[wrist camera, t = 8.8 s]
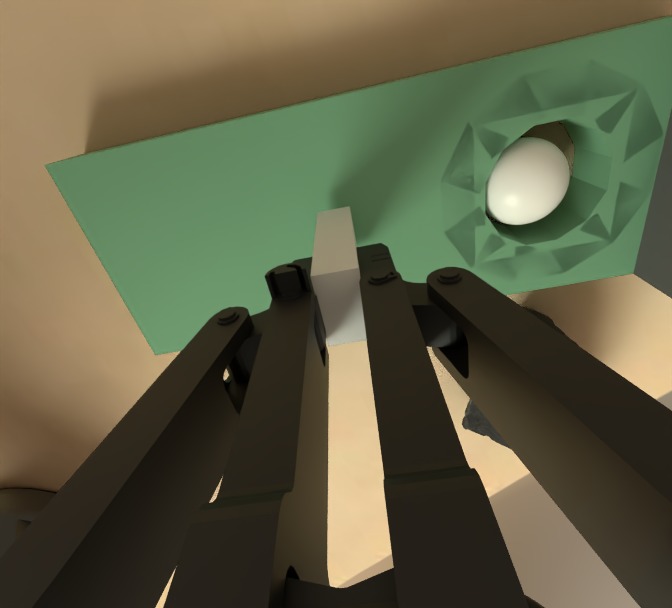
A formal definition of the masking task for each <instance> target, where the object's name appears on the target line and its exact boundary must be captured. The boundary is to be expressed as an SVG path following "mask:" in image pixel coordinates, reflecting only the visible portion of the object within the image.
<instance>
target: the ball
mask: <svg viewBox="0 0 672 608" xmlns="http://www.w3.org/2000/svg"><path fill="white" fill-rule="evenodd" d="M569 179H570V170H569V165H568V162H567V159H566V157H565V155H564V154H563V152H562V151H561V150H560V149H559V148H558V147H557V146H555V145H554V144H553V143H551V142H549V141H547V140H544V139H541V138H535V137H524V138H519V139H517V140H515V141H514V142H513V143H512V144H510V145H509V146H508V147H506V148H505V149H504V150H503V151H502V153H501V155H500V157H499V158H498V160H497V162H496V164H495V166H494V168H493V170H492V172H491V174H490V176H489V177H488V179H487V181H486V183H485V212H486V213H487V214H488V215H490V216H491V217H492V218H494V219H495V220H497V221H500V222H502V223H506V224H511V225H522V224H528V223H532V222H535V221H537V220H539V219H541V218H543V217H545V216H546V215H548V214H549V213H551V212H552V211H553V210H554V209H555V208H556V207H557V206H558V205H559V203H560V202H561V201H562V199H563V197H564V196H565V194H566V191H567V188H568V185H569Z"/></svg>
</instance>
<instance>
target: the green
mask: <svg viewBox="0 0 672 608" xmlns="http://www.w3.org/2000/svg"><path fill="white" fill-rule="evenodd" d="M554 121H559V122H561V123H563V124H564V126H565V128H566V130H567V132H568V134H569V136H570V138H571V140H572V142H573V144H574V146H575V153H574V161H573V170H572V177H571V178H570V180H569V185H568V188H567V191H566V194H565V196H564V197H563V199H562V201H561V202H560V203H559V205H558V206H557V207H556V208H555V209H554V210H553V211H552V212H551V213H549V214H548V215H546V216H545V217H543V218H541V219H539V220H537V221H535V222H532V223H528V224H522V225H511V224H506V225H502V224H499V223H496V222H493V221H490V220H489V219H488V217H487V216H486V214H485V183H486V181H487V179H488V177H489V176H490V174H491V172H492V170H493V168H494V166H495V164H496V162H497V160H498V158H499V157H500V155H501V153H502V151H503V150H504V149H505V148H506V147H508V146H509V145H510V144H512V143H513V142H514V141H515V140H517V139H518V138H519V137H520V136H522V135H523V134H524V133H525V132H527V131H528V130H529V129H531V128H532V127H533V126H535V125H540V124H544V123H549V122H554ZM45 167H46V168H47V170H48V172H49V174H50V175H51V177H52V179H53V180H54V182H55V184H56V186H57V187H58V189H59V191H60V192H61V194H62V196H63V198H64V199H65V201H66V203H67V205H68V206H69V208H70V210H71V211H72V213H73V215H74V217H75V218H76V220H77V222H78V223H79V225H80V227H81V229H82V230H83V232H84V234H85V235H86V237H87V239H88V241H89V242H90V244H91V246H92V247H93V249H94V251H95V253H96V254H97V256H98V258H99V259H100V261H101V263H102V265H103V266H104V268H105V270H106V271H107V273H108V275H109V277H110V278H111V280H112V282H113V283H114V285H115V287H116V289H117V290H118V292H119V294H120V295H121V297H122V299H123V301H124V302H125V304H126V306H127V307H128V309H129V311H130V313H131V314H132V316H133V318H134V320H135V321H136V323H137V325H138V326H139V328H140V330H141V332H142V333H143V335H144V337H145V338H146V340H147V342H148V344H149V345H150V347H151V349H152V350H153V352H154V354H155V355H158V354H164V353H170V352H176V351H182V350H183V349H184V348H185V346H186V345H187V344H188V343H189V342H190V341H191V340H192V338H193V337H194V336H195V335H196V334H197V333H198V332H199V330H200V329H201V328H202V327H203V326H204V325H205V324H206V322H207V321H208V320H209V319H210V318H211V317H212V316H213V315H215V314H216V313H218V312H220V311H221V310H223V309H225V308H226V309H227V308H228V307H237V306H239V307H245V308H247V309H248V311H249V314H250V316H252V315H254V314H257V313H260V312H263V311H265V310H267V309H269V307H270V304H271V300H272V297H271V294H270V291H269V288H268V285H267V282H266V279H265V275H266V273H267V272H268V271H270V270H271V269H273V268H275V267H277V266H279V265H283V264H287V263H292V262H293V261H294V260H297V259H303V258H308V257H313V248H314V239H315V231H316V222H317V213H318V212H323V211H328V210H333V209H338V208H343V207H348V206H350V211H351V216H352V222H353V227H354V233H355V239H356V244H357V247H361V246H366V245H372V244H377V243H382V244H384V245H386V246H388V248H389V251H390V254H391V257H392V260H393V263H394V266H395V269H396V271H397V272H399V273H400V275H401V277H402V279H403V280H405V281H407V282H412V283H427V282H426V279H427V276H428V275H429V274H430V273H431V272H433V271H435V270H437V269H441V268H444V267H459V268H464V269H466V270H469V271H471V272H472V273H474V274H475V275H476V276H478V277H479V278H481V279H482V280H484V281H485V282H487V283H488V284H489V285H491V286H492V287H494V288H495V289H497V290H498V291H500V292H501V293H502V294H504V295H510V294H516V293H522V292H528V291H534V290H539V289H545V288H551V287H557V286H563V285H569V284H575V283H580V282H586V281H592V280H598V279H604V278H610V277H616V276H622V275H627V274H635V275H636V276H638V277H640V278H641V279H643V280H644V281H646V282H647V283H649V284H650V285H652V286H653V287H655V288H656V289H658V290H660V291H661V292H663V293H664V294H666V295H667V296H669V297H670V298H672V15H669V16H665V17H660V18H656V19H652V20H648V21H643V22H639V23H635V24H631V25H627V26H622V27H618V28H614V29H610V30H605V31H601V32H597V33H593V34H588V35H584V36H580V37H576V38H572V39H567V40H563V41H559V42H555V43H550V44H546V45H542V46H538V47H533V48H529V49H525V50H521V51H517V52H512V53H508V54H504V55H500V56H495V57H491V58H487V59H483V60H479V61H474V62H470V63H466V64H462V65H457V66H453V67H449V68H445V69H440V70H436V71H432V72H428V73H424V74H419V75H415V76H411V77H407V78H402V79H398V80H394V81H390V82H385V83H381V84H377V85H373V86H369V87H364V88H360V89H356V90H352V91H347V92H343V93H339V94H335V95H330V96H326V97H322V98H318V99H314V100H309V101H305V102H301V103H297V104H292V105H288V106H284V107H280V108H276V109H271V110H267V111H263V112H259V113H254V114H250V115H246V116H242V117H237V118H233V119H229V120H225V121H221V122H216V123H212V124H208V125H204V126H199V127H195V128H191V129H187V130H182V131H178V132H174V133H170V134H166V135H161V136H157V137H153V138H149V139H144V140H140V141H136V142H132V143H127V144H123V145H119V146H115V147H111V148H106V149H102V150H98V151H94V152H89V153H85V154H81V155H78V156H75V157H71V158H68V159H64V160H61V161H57V162H54V163H50V164H47V165H45Z"/></svg>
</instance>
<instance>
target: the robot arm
mask: <svg viewBox="0 0 672 608" xmlns="http://www.w3.org/2000/svg"><path fill="white" fill-rule="evenodd" d="M265 279H266V282H267V285H268V288H269V291H270V294H271V297H272V300H271V304H270V307H269V309H267V310H265V311H263V312H260V313H257V314H254V315H252V316H250V314H249V311H248V309H247V308H245V307H239V306H237V307H228V308H227V309H226V308H225V309H223V310H221V311H220V312H218V313H216V314H215V315H213V316H212V317H211V318H210V319H209V320H208V321H207V322H206V324H205V325H204V326H203V327H202V328H201V329H200V330H199V332H198V333H197V334H196V335H195V336H194V337H193V338H192V340H191V341H190V342H189V343H188V344H187V345H186V346H185V348H184V349H183V350H182V351H181V352H180V353H179V354H178V356H177V357H176V358H175V359H174V360H173V361H172V362H171V364H170V365H169V366H168V367H167V368H166V369H165V370H164V372H163V373H162V374H161V375H160V376H159V377H158V378H157V380H156V381H155V382H154V383H153V384H152V385H151V386H150V388H149V389H148V390H147V391H146V392H145V393H144V394H143V396H142V397H141V398H140V399H139V400H138V401H137V402H136V404H135V405H134V406H133V407H132V408H131V409H130V410H129V412H128V413H127V414H126V415H125V416H124V417H123V418H122V420H121V421H120V422H119V423H118V424H117V425H116V426H115V428H114V429H113V430H112V431H111V432H110V433H109V434H108V436H107V437H106V438H105V439H104V440H103V441H102V442H101V444H100V445H99V446H98V447H97V448H96V449H95V450H94V452H93V453H92V454H91V455H90V456H89V457H88V458H87V460H86V461H85V462H84V463H83V464H82V465H81V466H80V468H79V469H78V470H77V471H76V472H75V473H74V474H73V476H72V477H71V478H70V479H69V480H68V481H67V482H66V484H65V485H64V486H63V487H62V488H61V489H60V490H59V491H58V493H57V494H55V493H51V492H46V491H40V490H32V489H0V608H155V607H156V605H157V603H158V601H159V599H160V597H161V595H162V593H163V591H164V589H165V587H166V585H167V583H168V581H169V579H170V578H171V576H172V574H173V572H174V570H175V568H176V570H175V573H174V576H173V579H172V582H171V586H170V589H169V592H168V595H167V598H166V601H165V604H164V607H163V608H544V607H543V606H542V605H540V604H539V603H537V602H536V601H534V600H532V599H531V598H529V597H528V596H526V595H524V593H523V590H522V587H521V584H520V582H519V579H518V576H517V574H516V571H515V568H514V566H513V563H512V560H511V558H510V555H509V553H508V550H507V547H506V544H505V542H504V539H503V536H502V534H501V531H500V528H499V526H498V523H497V520H496V517H495V515H494V512H493V510H492V507H491V504H490V501H489V499H488V496H487V493H486V491H485V488H484V486H483V483H482V481H481V479H480V476H479V474H478V473H477V471H476V470H475V468H472V469H470V467H469V465H468V463H467V461H466V458H465V455H464V452H463V450H462V447H461V444H460V441H459V438H458V435H457V433H456V430H455V427H454V424H453V421H452V418H451V416H450V413H449V410H448V407H447V404H446V401H445V399H444V396H443V393H442V390H441V387H440V384H439V382H438V379H437V376H436V373H435V370H434V367H433V365H432V362H431V359H430V356H429V353H428V350H427V348H426V346H429V347H432V350H433V352H434V355H435V356H436V357H437V358H438V359H439V361H440V362H441V363H442V364H443V366H444V367H445V368H446V369H447V370H448V372H449V373H450V374H451V375H452V377H453V378H454V379H455V380H456V382H457V383H458V384H459V385H460V386H461V388H462V389H463V390H464V391H465V393H466V394H467V395H468V396H469V397H470V399H471V400H472V401H473V402H474V404H475V405H476V406H477V407H478V409H479V410H480V411H481V412H482V413H483V415H484V416H485V417H486V418H487V420H488V421H489V422H490V423H491V425H492V426H493V427H494V428H495V429H496V431H497V432H498V433H499V434H500V436H501V437H502V438H503V439H504V440H505V442H506V443H507V444H508V445H509V447H510V448H511V449H512V450H513V452H514V453H515V454H516V455H517V456H518V458H519V459H520V460H521V461H522V463H523V464H524V465H525V466H526V467H527V469H528V470H529V471H530V472H531V474H532V475H533V476H534V477H535V479H536V480H537V481H538V482H539V483H540V485H541V486H542V487H543V488H544V490H545V491H546V492H547V493H548V494H549V496H550V497H551V498H552V499H553V500H554V502H555V503H556V504H557V505H558V507H559V508H560V509H561V510H562V511H563V513H564V514H565V515H566V517H567V518H568V519H569V520H570V522H571V523H572V524H573V525H574V526H575V528H576V529H577V530H578V531H579V533H580V534H581V535H582V536H583V537H584V539H585V540H586V541H587V542H588V544H589V545H590V546H591V547H592V549H593V550H594V551H595V552H596V553H597V555H598V556H599V557H600V558H601V560H602V561H603V562H604V563H605V564H606V566H607V567H608V568H609V569H610V571H611V572H612V573H613V574H614V575H615V577H616V578H617V579H618V580H619V582H620V583H621V584H622V585H623V587H624V588H625V589H626V590H627V592H628V593H629V594H630V595H631V596H632V598H633V599H634V600H635V601H636V602H637V603H638V605H639V606H640V607H641V608H672V411H671V410H670V409H668V408H667V407H665V406H664V405H663V404H661V403H660V402H658V401H657V400H655V399H654V398H653V397H651V396H650V395H648V394H647V393H645V392H644V391H642V390H641V389H640V388H638V387H637V386H635V385H634V384H632V383H631V382H629V381H628V380H627V379H625V378H624V377H622V376H621V375H619V374H618V373H616V372H615V371H614V370H612V369H611V368H609V367H608V366H606V365H605V364H603V363H602V362H601V361H599V360H598V359H596V358H595V357H593V356H592V355H590V354H589V353H588V352H586V351H585V350H583V349H582V348H580V347H579V346H577V345H576V344H575V343H573V342H572V341H570V340H569V339H567V338H566V337H564V336H563V335H562V334H560V333H559V332H557V331H556V330H554V329H553V328H551V327H550V326H549V325H547V324H546V323H544V322H543V321H541V320H540V319H538V318H537V317H536V316H534V315H533V314H531V313H530V312H528V311H527V310H526V309H524V308H523V307H521V306H520V305H518V304H517V303H515V302H514V301H513V300H511V299H510V298H508V297H507V296H505V295H504V294H502V293H501V292H500V291H498V290H497V289H495V288H494V287H492V286H491V285H489V284H488V283H487V282H485V281H484V280H482V279H481V278H479V277H478V276H476V275H475V274H474V273H472V272H471V271H469V270H466V269H464V268H459V267H444V268H441V269H437V270H435V271H433V272H431V273H430V274H429V275H428V276H427V279H426V282H427V283H412V282H407V281H405V280H403V279H402V277H401V275H400V273H399V272H397V271H396V269H395V266H394V263H393V260H392V257H391V254H390V251H389V248H388V246H386V245H384V244H382V243H377V244H372V245H366V246H361V247H357V244H356V239H355V233H354V227H353V222H352V216H351V211H350V206H348V207H343V208H338V209H333V210H328V211H323V212H318V213H317V222H316V231H315V239H314V248H313V257H308V258H303V259H297V260H294V261H293V262H292V263H287V264H283V265H279V266H277V267H275V268H273V269H271V270H270V271H268V272H267V273H266V275H265ZM326 338H327V342H328V346H333V345H339V344H345V343H351V342H357V341H364V340H367V346H368V354H369V362H370V369H371V377H372V385H373V393H374V400H375V408H376V416H377V423H378V431H379V439H380V446H381V454H382V462H383V470H384V492H385V501H386V509H387V517H388V525H389V533H390V541H391V549H392V557H393V565H394V568H392V569H390V570H387V571H385V572H383V573H380V574H378V575H376V576H373V577H371V578H368V579H367V580H364V581H361V582H359V583H357V584H355V585H352V586H350V587H347V588H335V587H330V585H329V579H328V570H327V514H328V388H329V354H328V350H327V347H326ZM225 369H227V371H228V373H229V376H228V378H227V379H226V380H225V381H224V380H223V375H224V372H225ZM223 474H224V475H223ZM222 476H223V478H222ZM221 478H222V482H221V486H220V489H219V493H218V495H217V498H216V499H215V500H214V501H213V502H212V503H209V502H210V500H211V498H212V496H213V494H214V492H215V490H216V488H217V486H218V484H219V482H220V480H221ZM176 566H177V567H176Z"/></svg>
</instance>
